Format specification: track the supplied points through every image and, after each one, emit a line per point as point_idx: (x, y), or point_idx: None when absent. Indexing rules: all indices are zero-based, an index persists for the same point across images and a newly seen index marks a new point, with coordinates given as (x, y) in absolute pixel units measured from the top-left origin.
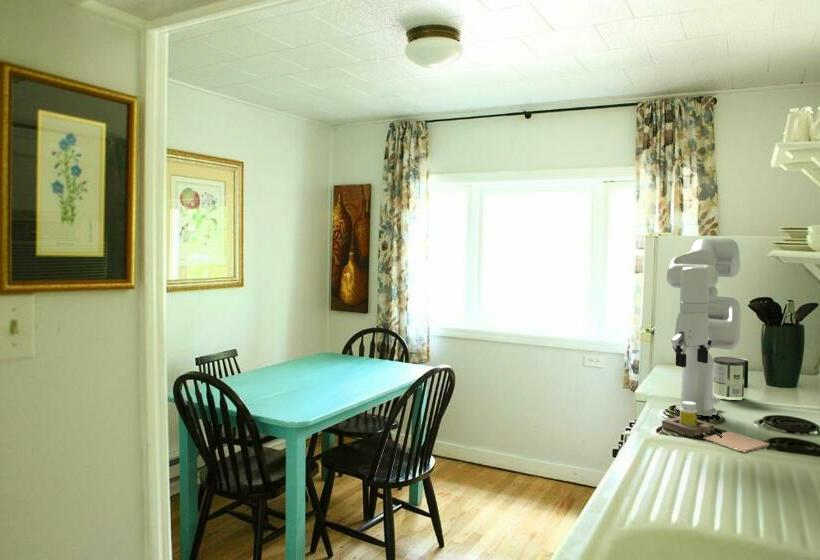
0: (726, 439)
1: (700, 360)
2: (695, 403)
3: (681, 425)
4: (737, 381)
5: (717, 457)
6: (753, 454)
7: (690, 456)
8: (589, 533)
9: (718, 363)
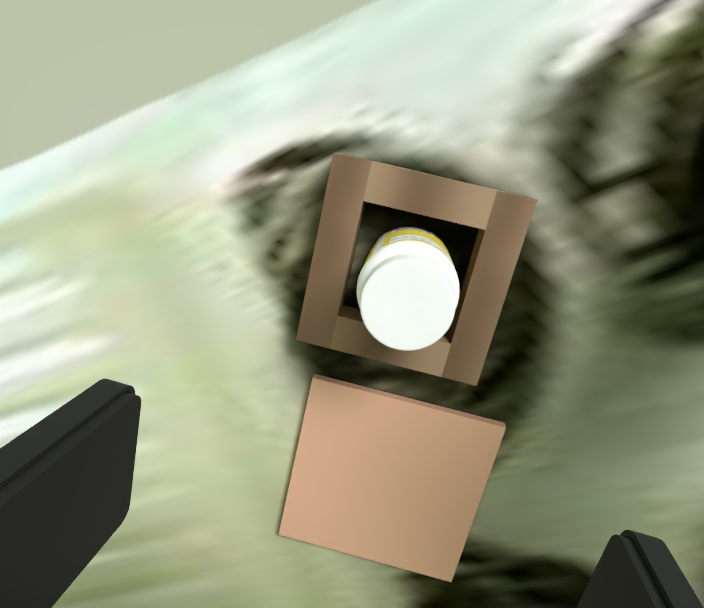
0: (368, 454)
1: (601, 597)
2: (421, 346)
3: (329, 270)
4: None
5: (158, 477)
6: (297, 555)
7: None
8: None
9: None
